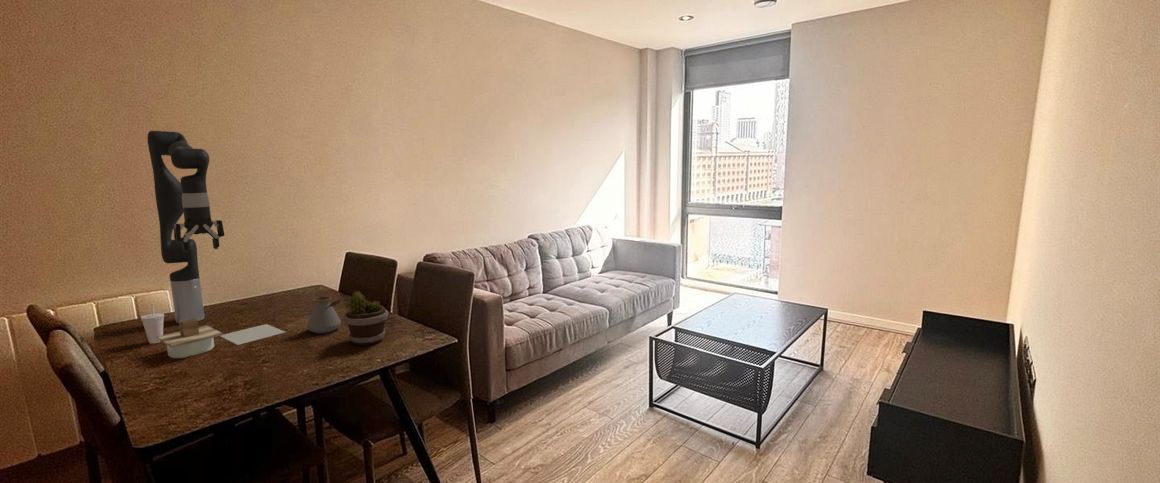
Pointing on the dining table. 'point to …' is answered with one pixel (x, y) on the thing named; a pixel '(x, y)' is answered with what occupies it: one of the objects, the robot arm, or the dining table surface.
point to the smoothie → (153, 325)
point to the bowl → (190, 348)
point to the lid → (189, 333)
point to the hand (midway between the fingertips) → (201, 250)
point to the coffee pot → (323, 316)
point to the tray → (252, 334)
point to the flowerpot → (365, 320)
